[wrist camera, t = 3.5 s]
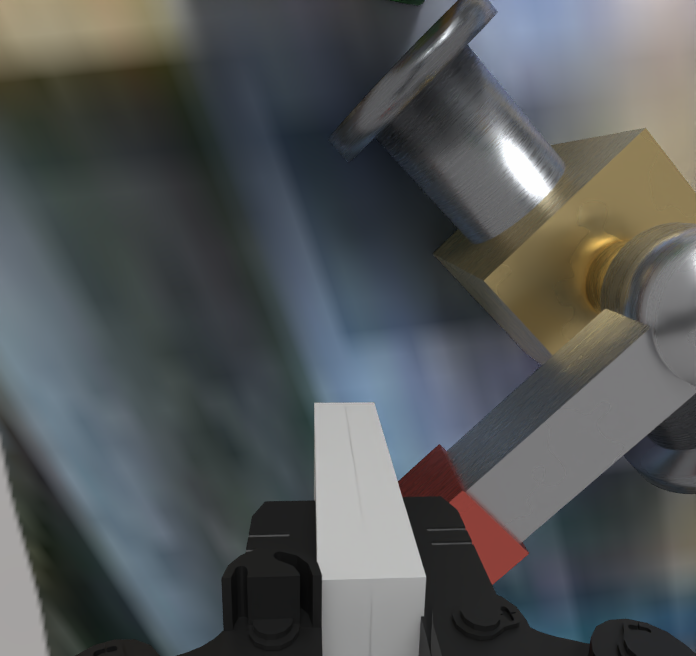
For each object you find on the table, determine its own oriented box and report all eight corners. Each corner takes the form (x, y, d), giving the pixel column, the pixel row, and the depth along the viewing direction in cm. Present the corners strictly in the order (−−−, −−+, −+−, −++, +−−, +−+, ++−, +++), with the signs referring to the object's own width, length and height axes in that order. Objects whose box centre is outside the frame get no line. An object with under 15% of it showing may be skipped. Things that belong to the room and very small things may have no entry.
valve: (325, 146, 22) (334, 120, 13) (447, 21, 21) (539, -92, 12) (604, 444, 26) (749, 569, 17) (716, 347, 25) (925, 429, 16)
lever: (682, 192, 14) (761, 192, 12) (761, 292, 15) (850, 312, 12) (293, 548, 16) (289, 614, 13) (381, 622, 16) (393, 697, 14)
